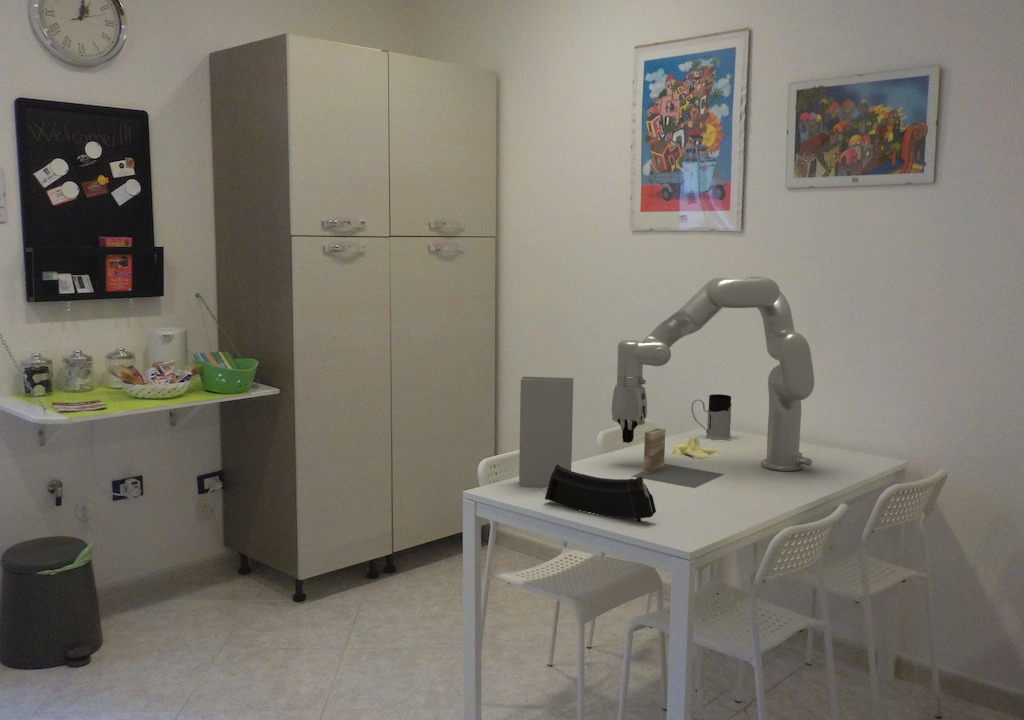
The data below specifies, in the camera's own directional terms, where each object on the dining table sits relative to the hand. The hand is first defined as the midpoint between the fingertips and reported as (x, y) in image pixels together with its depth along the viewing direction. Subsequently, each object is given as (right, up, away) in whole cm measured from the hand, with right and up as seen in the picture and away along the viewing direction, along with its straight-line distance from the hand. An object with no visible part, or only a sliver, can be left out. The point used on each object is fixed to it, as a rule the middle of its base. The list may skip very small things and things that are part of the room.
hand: (627, 441), depth 282 cm
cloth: (+23, -6, +21) cm, 32 cm away
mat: (+14, -9, -9) cm, 19 cm away
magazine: (-13, -14, -46) cm, 50 cm away
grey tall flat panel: (-26, -10, -20) cm, 34 cm away
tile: (+7, -8, -4) cm, 12 cm away
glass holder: (+34, -3, +45) cm, 57 cm away
